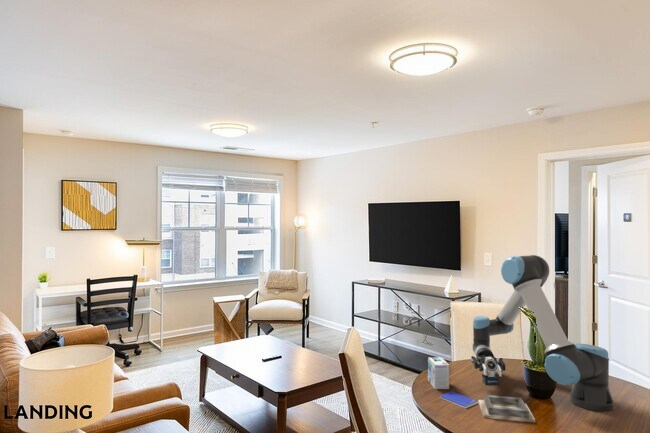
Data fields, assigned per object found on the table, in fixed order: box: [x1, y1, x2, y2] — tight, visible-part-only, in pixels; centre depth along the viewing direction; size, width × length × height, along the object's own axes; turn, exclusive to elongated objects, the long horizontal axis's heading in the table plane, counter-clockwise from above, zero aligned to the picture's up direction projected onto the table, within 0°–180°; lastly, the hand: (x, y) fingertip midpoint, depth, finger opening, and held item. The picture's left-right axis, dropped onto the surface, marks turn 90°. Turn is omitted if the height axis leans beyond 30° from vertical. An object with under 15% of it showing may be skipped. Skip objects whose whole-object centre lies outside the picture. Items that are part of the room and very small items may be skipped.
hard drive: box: [439, 391, 479, 409], centre depth 177 cm, size 2×8×12 cm
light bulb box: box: [427, 356, 450, 390], centre depth 194 cm, size 11×7×11 cm, turn 3°
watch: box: [481, 357, 500, 387], centre depth 183 cm, size 6×8×11 cm
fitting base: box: [477, 394, 536, 423], centre depth 166 cm, size 18×14×4 cm
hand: (493, 372), depth 178 cm, fingers closed on watch, 5 cm apart
